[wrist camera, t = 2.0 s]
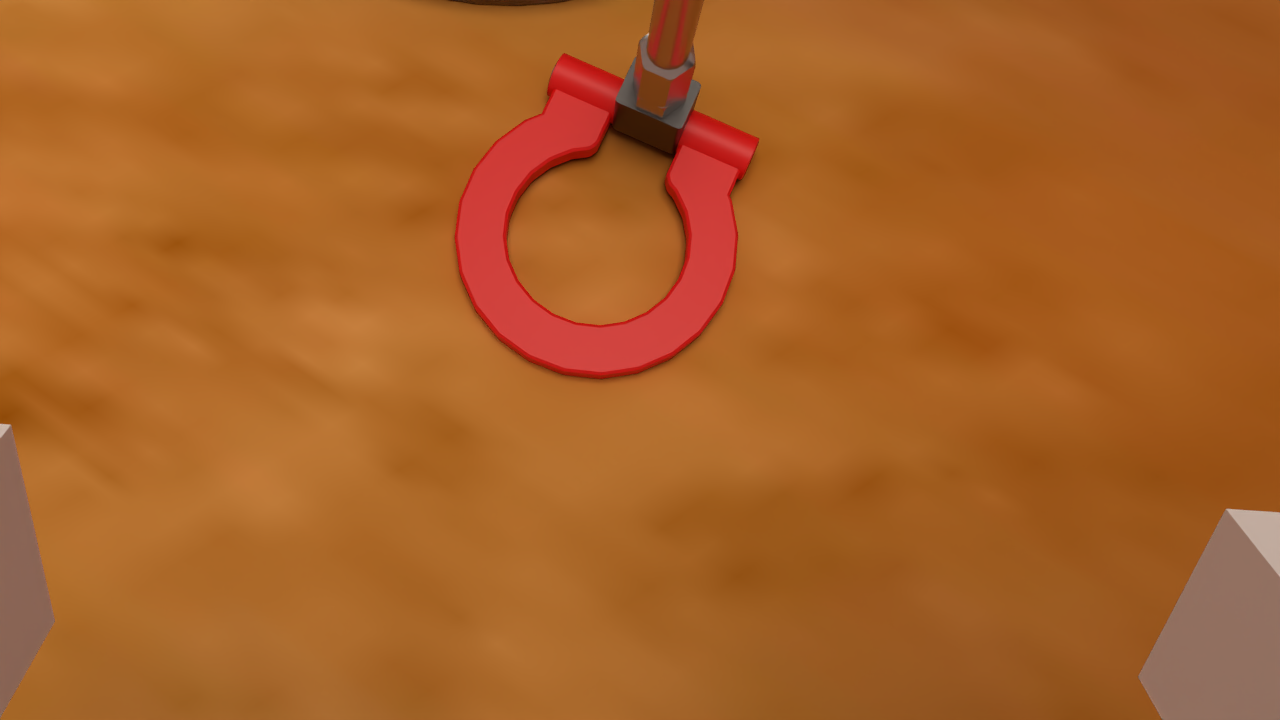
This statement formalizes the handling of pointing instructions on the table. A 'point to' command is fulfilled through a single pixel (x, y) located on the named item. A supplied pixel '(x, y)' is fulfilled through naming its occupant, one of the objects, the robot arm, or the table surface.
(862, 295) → the table surface
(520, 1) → the dark grey plate
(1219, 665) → the robot arm
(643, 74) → the tow hook
